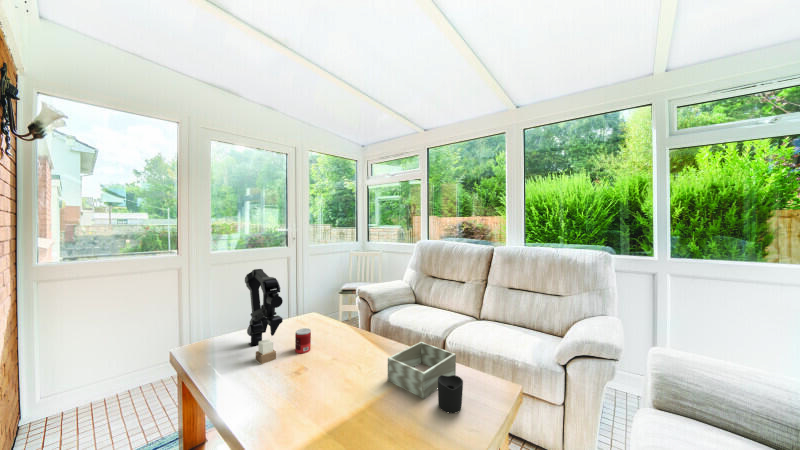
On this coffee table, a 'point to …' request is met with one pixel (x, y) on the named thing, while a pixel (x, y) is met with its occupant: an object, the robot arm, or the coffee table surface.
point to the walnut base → (265, 357)
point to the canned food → (302, 341)
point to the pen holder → (450, 393)
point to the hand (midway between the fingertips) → (268, 332)
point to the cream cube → (265, 346)
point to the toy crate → (414, 378)
